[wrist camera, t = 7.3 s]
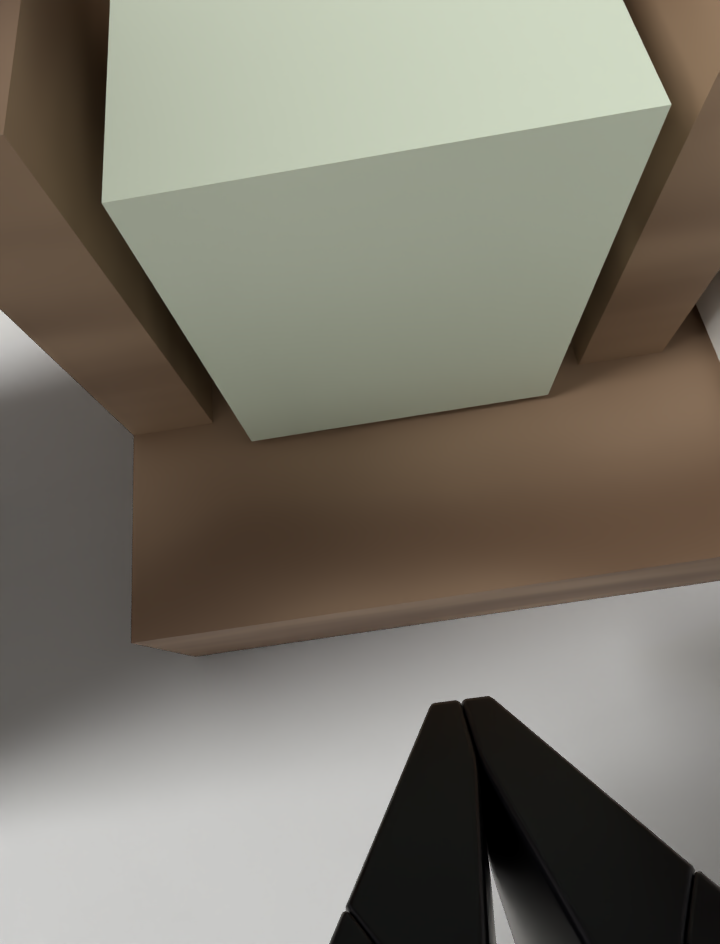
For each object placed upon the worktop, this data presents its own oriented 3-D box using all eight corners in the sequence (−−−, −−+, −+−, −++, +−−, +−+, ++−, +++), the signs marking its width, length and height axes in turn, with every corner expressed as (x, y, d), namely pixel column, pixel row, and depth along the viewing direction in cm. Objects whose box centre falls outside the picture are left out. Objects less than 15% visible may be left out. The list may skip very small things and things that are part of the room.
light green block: (548, 395, 14) (671, 104, 7) (251, 441, 14) (101, 203, 7) (492, 200, 16) (548, -160, 9) (238, 243, 16) (113, -78, 10)
